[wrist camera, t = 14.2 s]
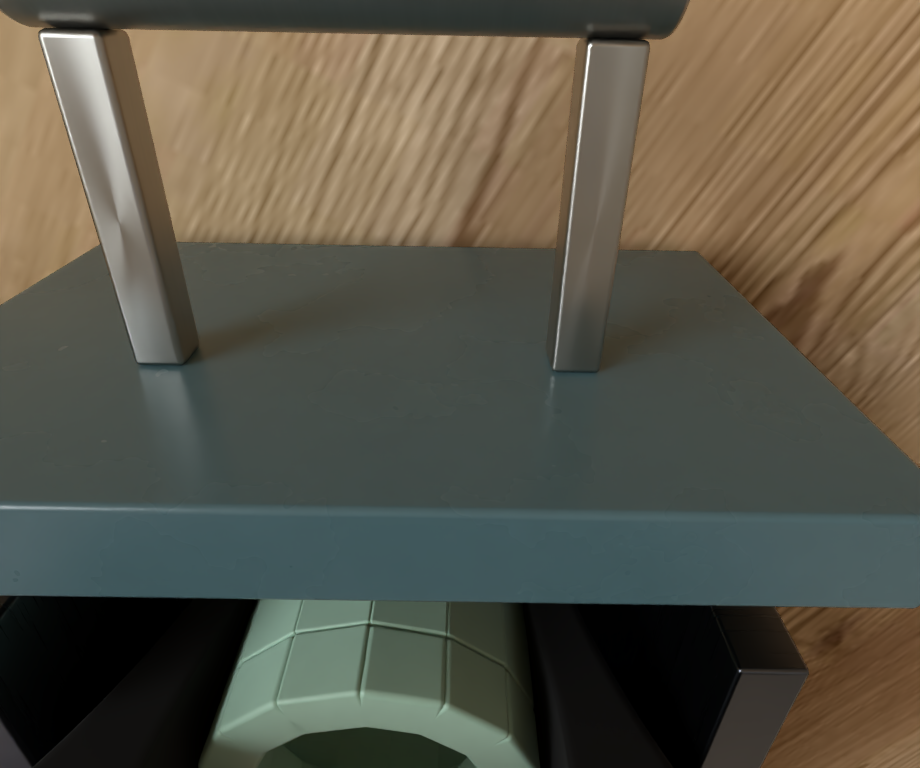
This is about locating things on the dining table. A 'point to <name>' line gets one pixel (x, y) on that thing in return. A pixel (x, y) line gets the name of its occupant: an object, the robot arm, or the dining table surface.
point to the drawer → (421, 414)
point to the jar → (377, 688)
